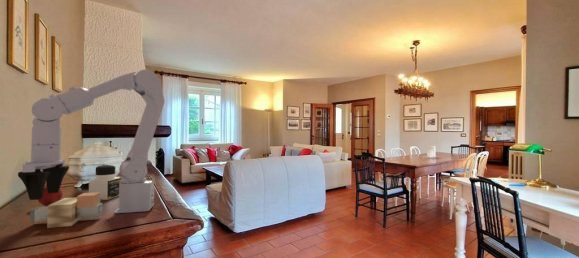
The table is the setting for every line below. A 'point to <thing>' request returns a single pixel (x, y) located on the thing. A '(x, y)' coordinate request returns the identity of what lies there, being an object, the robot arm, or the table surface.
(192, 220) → the table surface
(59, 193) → the onion
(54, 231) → the table surface
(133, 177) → the robot arm
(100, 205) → the bar
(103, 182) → the medicine bottle
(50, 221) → the bearing block
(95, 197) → the block
